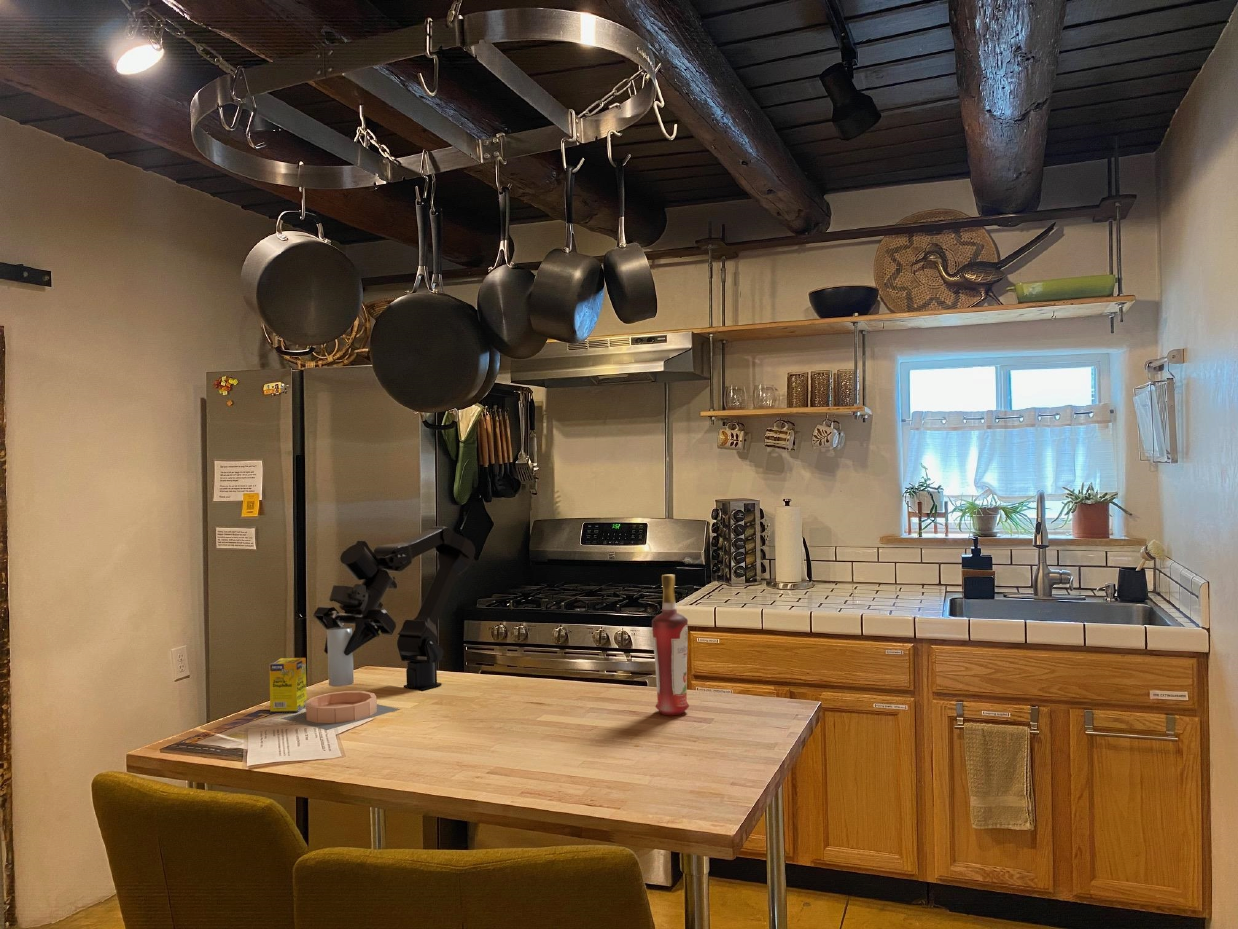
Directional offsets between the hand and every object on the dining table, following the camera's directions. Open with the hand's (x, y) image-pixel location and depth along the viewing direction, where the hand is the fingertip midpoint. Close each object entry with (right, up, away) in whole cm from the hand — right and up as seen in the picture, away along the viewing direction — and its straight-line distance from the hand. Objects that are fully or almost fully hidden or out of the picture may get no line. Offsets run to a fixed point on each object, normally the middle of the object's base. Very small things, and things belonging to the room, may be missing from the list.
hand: (335, 653), depth 189 cm
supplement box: (-12, -14, +6) cm, 19 cm away
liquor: (+70, -11, -4) cm, 71 cm away
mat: (+1, -13, +1) cm, 13 cm away
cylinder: (+1, -7, +1) cm, 7 cm away
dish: (+1, -13, +1) cm, 13 cm away
